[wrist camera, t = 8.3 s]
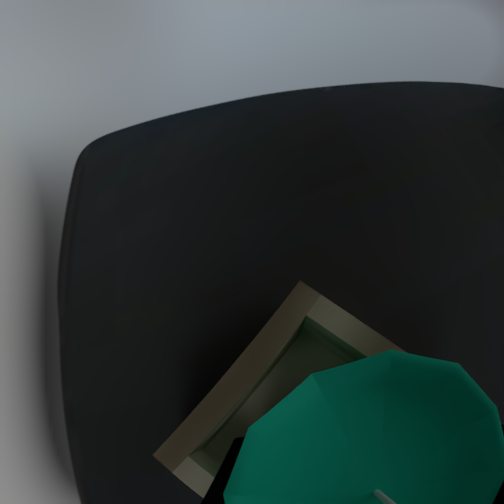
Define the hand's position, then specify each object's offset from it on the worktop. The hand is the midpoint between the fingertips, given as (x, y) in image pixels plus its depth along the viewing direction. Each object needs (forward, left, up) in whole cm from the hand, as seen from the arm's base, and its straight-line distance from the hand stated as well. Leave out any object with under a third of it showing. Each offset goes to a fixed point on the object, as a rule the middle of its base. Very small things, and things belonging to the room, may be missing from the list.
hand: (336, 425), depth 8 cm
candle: (-1, +1, -7) cm, 7 cm away
